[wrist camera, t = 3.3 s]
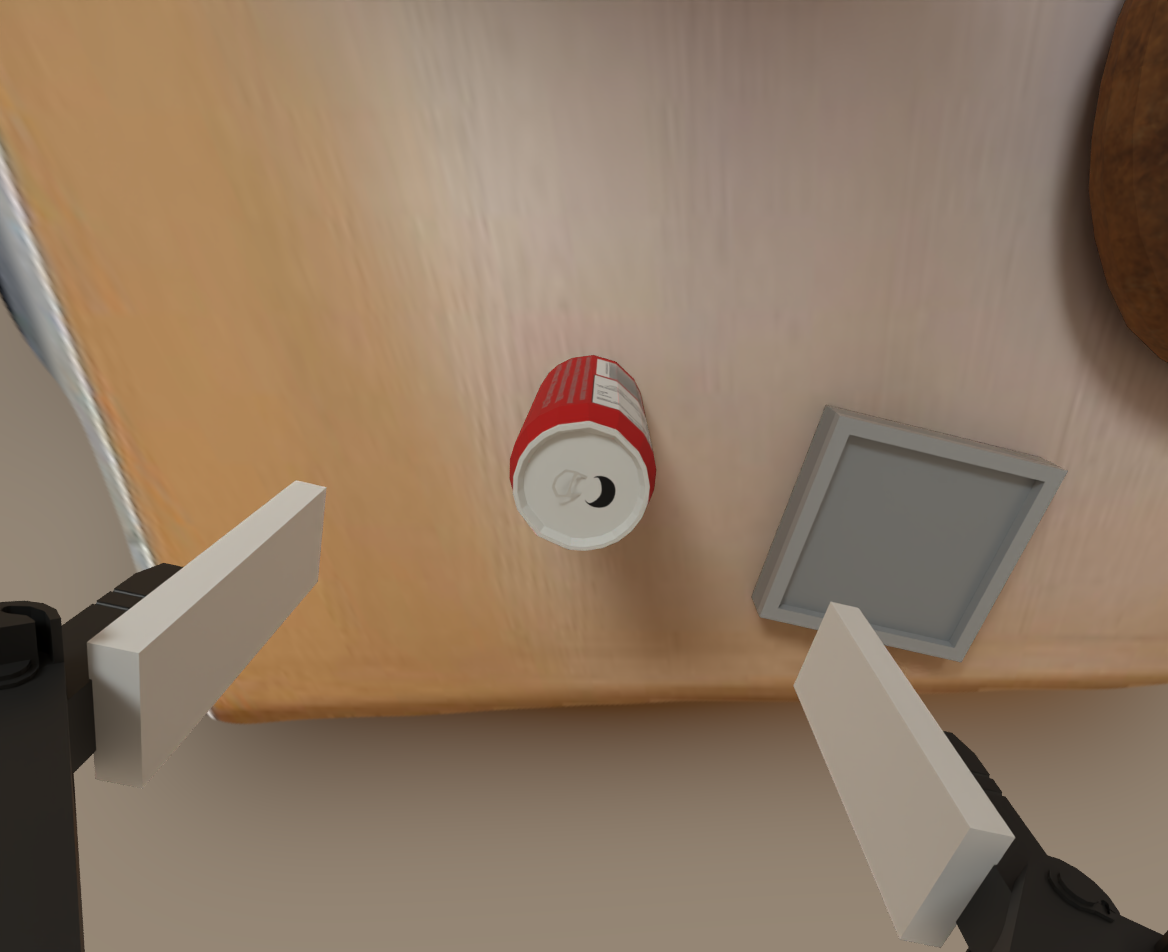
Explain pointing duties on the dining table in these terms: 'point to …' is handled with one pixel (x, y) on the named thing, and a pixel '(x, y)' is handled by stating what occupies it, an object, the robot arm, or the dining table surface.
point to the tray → (903, 531)
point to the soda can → (584, 456)
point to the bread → (1134, 171)
